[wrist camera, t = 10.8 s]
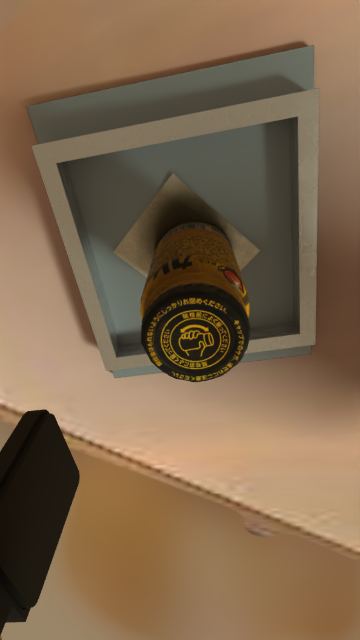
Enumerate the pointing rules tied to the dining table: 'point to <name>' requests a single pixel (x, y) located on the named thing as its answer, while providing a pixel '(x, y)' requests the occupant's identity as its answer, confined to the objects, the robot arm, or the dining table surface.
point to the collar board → (200, 176)
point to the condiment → (190, 284)
